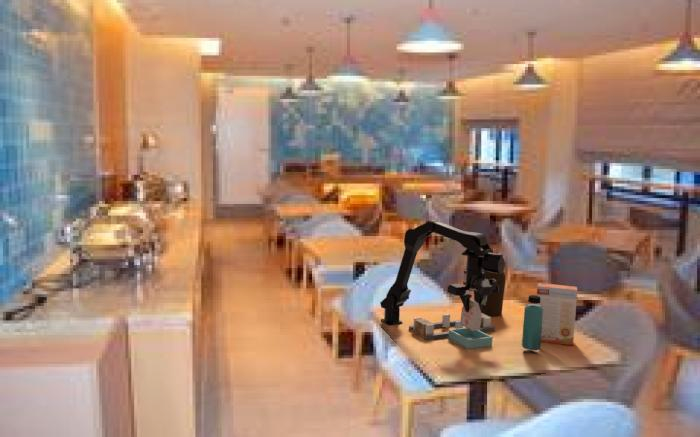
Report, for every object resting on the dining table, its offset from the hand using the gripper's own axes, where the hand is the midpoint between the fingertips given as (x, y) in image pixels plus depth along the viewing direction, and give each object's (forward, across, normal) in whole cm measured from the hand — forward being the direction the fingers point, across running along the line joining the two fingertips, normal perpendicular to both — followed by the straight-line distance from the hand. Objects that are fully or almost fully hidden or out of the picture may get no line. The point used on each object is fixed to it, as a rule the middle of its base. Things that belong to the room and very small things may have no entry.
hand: (471, 311), depth 227 cm
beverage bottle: (+12, +15, -15) cm, 24 cm away
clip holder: (+12, +2, +14) cm, 18 cm away
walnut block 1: (+12, -11, +14) cm, 21 cm away
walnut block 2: (+12, +15, +14) cm, 24 cm away
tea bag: (+6, 0, 0) cm, 6 cm away
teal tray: (+12, 0, 0) cm, 12 cm away
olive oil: (+12, +31, +28) cm, 43 cm away
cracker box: (+12, +31, -9) cm, 34 cm away
